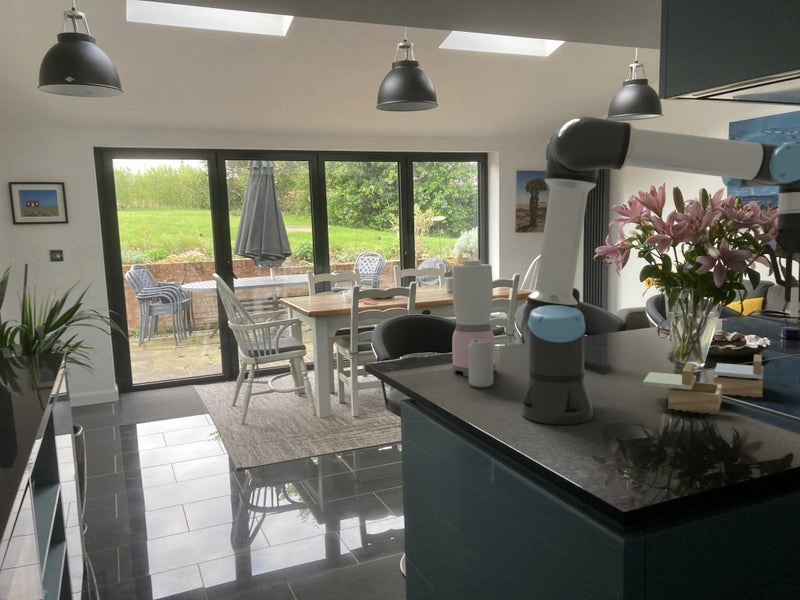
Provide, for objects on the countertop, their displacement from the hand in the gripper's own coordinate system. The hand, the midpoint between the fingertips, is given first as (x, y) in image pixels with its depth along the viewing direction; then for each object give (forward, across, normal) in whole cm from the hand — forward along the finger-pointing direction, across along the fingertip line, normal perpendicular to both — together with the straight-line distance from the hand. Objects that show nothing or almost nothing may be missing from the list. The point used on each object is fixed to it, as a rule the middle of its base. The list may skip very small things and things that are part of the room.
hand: (793, 316), depth 144 cm
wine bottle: (+19, +57, -20) cm, 63 cm away
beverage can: (+19, +70, +18) cm, 74 cm away
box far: (+19, +11, 0) cm, 22 cm away
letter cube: (+19, +11, 0) cm, 21 cm away
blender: (+19, +79, +3) cm, 81 cm away
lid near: (+14, +24, +16) cm, 32 cm away
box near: (+19, +19, +16) cm, 31 cm away
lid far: (+14, +11, 0) cm, 18 cm away
